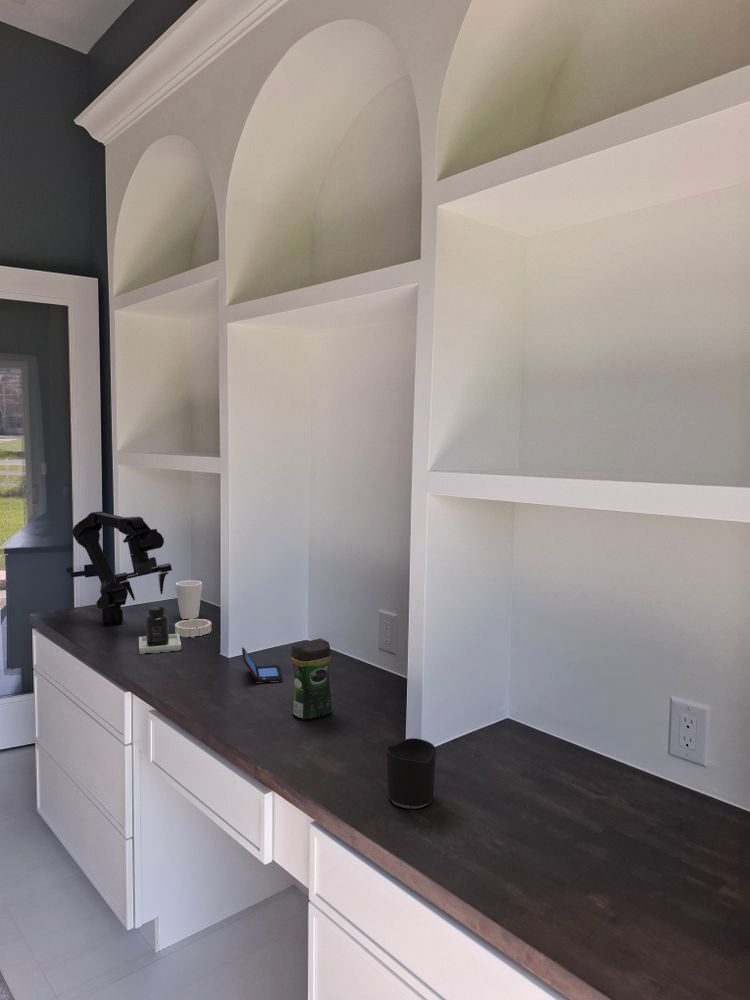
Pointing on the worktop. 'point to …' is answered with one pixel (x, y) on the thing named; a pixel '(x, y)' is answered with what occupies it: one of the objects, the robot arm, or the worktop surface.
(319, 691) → the coffee jar
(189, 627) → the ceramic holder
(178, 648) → the sage tray
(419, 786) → the pen holder
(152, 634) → the supplement bottle
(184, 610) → the foam cup
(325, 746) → the worktop surface
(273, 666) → the handheld game console
